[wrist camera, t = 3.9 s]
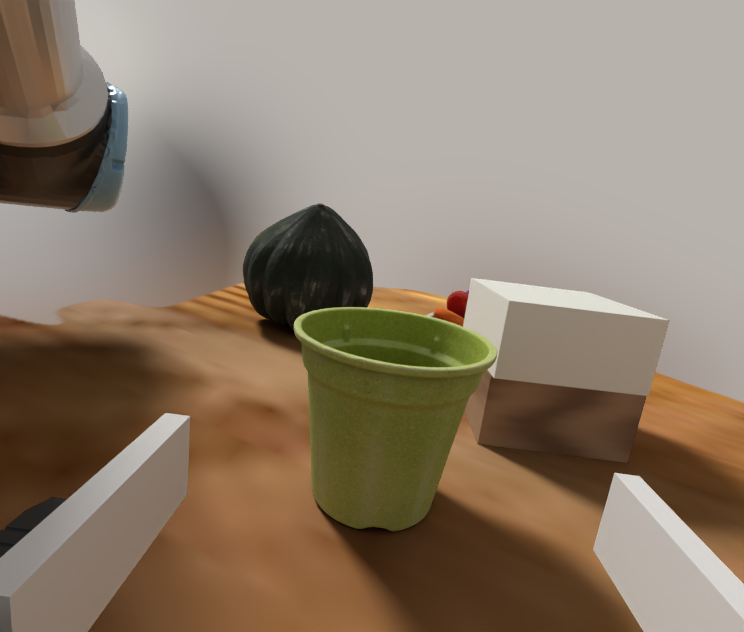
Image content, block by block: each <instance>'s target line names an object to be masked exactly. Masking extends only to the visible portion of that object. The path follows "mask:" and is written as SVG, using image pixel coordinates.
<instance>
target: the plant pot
mask: <svg viewBox="0 0 744 632" xmlns="http://www.w3.org/2000/svg"><path fill="white" fill-rule="evenodd" d="M294 333H295V335H296V337H297V339H298V340H299V341H300V342H301V343H302V357H303V363H304V366H305V368H306V369H307V371H308V388H309V412H310V446H311V478H312V491H313V495H314V497H315V500H316V501H317V503H318V505H319V506H320V507H321V508H322V509H323V510H324V511H325V512H326V513H327V514H328V515H329V516H331V517H332V518H334V519H335V520H337V521H339V522H341V523H343V524H345V525H347V526H350V527H353V528H356V529H363V528H367V527H379V528H385V529H388V530H390V531H399V530H404V529H406V528H409V527H411V526H413V525H415V524H417V523H418V522H420V521H421V520H422V519H423V518H424V517H425V516H426V515H427V513H428V511H429V509H430V507H431V504H432V501H433V498H434V496H435V493H436V490H437V487H438V484H439V481H440V478H441V475H442V472H443V469H444V466H445V463H446V460H447V458H448V455H449V452H450V449H451V446H452V443H453V441H454V438H455V435H456V432H457V430H458V427H459V424H460V421H461V419H462V416H463V413H464V410H465V408H466V405H467V402H468V400H469V397H470V396H471V395H472V394H473V393H474V392H475V390H476V389H477V387H478V385H479V383H480V380H481V377H482V375H483V372H484V371H485V370H487V369H489V368H490V367H491V366H492V365H493V364H494V362H495V361H496V358H497V349H496V347H495V346H494V345H493V343H492V342H491V341H490V340H488V339H487V338H485V337H484V336H482V335H480V334H478V333H476V332H474V331H472V330H469V329H467V328H465V327H462V326H460V325H457V324H454V323H451V322H448V321H445V320H441V319H438V318H434V317H430V316H425V315H420V314H415V313H409V312H403V311H396V310H388V309H377V308H364V307H339V308H326V309H320V310H314V311H311V312H308V313H305V314H303V315H301V316H299V317H298V318H297V319H296V320H295V322H294Z"/></svg>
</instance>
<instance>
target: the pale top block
mask: <svg viewBox="0 0 744 632" xmlns="http://www.w3.org/2000/svg"><path fill="white" fill-rule="evenodd" d="M669 321H670V320H667V319H664V318H661V317H658V316H656V315H653V314H650V313H647V312H644V311H641V310H638V309H635V308H632V307H629V306H626V305H624V304H621V303H618V302H615V301H612V300H609V299H606V298H603V297H601V296H597V295H595V294H592V293H588V292H580V291H572V290H564V289H555V288H547V287H540V286H532V285H523V284H516V283H508V282H500V281H492V280H484V279H475V278H471V284H470V290H469V295H468V301H467V306H466V312H465V318H464V323H463V327H465V328H467V329H469V330H472V331H474V332H476V333H478V334H480V335H482V336H484V337H485V338H487V339H488V340H490V341H491V342H492V343H493V345H494V346H495V347H496V349H497V358H496V361H495V362H494V364H493V365H492V366H491V367H490V368H489V369H487V370H488V371H489V372H490V374H491V375H492V376H493V378H497V379H505V380H514V381H523V382H531V383H540V384H548V385H557V386H565V387H574V388H582V389H591V390H600V391H608V392H617V393H625V394H634V395H642V396H648V395H649V392H650V388H651V385H652V381H653V378H654V374H655V370H656V367H657V363H658V360H659V356H660V352H661V349H662V346H663V342H664V338H665V335H666V331H667V327H668V324H669Z"/></svg>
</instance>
